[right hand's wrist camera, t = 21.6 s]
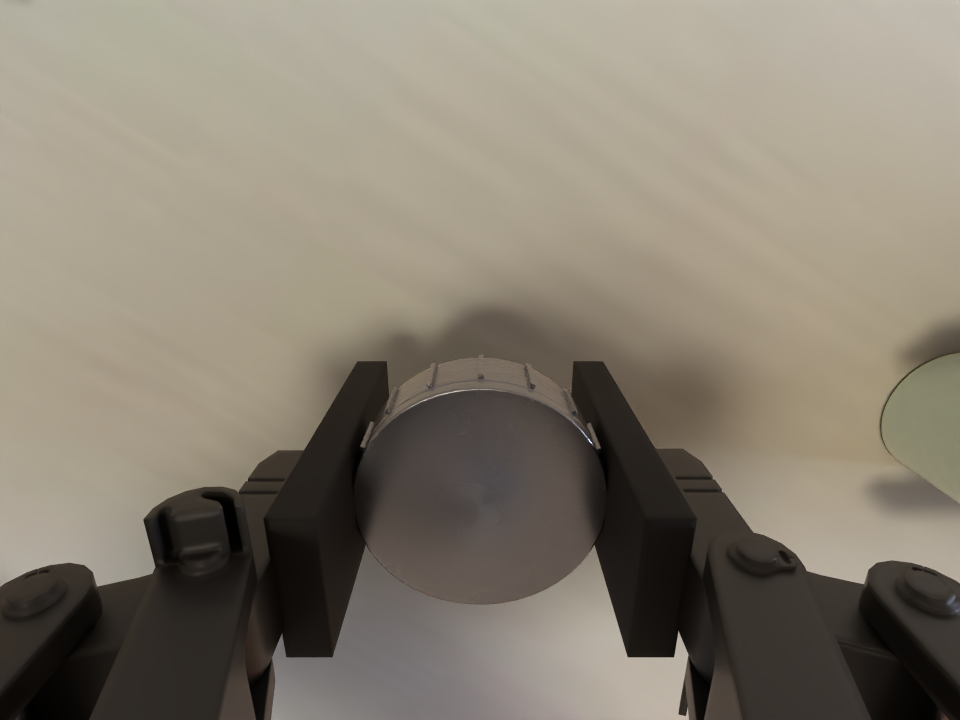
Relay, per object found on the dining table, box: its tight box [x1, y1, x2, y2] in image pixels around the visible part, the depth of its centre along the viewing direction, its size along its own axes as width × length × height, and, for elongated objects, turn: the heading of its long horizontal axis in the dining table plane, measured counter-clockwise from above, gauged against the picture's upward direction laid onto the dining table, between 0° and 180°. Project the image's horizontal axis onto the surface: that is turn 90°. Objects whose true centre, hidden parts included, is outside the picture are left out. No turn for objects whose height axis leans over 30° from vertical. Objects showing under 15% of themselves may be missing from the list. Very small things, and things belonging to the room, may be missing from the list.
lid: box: [353, 354, 608, 604], centre depth 11 cm, size 5×5×2 cm
